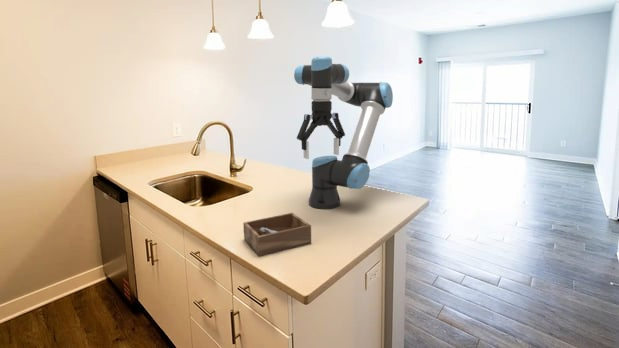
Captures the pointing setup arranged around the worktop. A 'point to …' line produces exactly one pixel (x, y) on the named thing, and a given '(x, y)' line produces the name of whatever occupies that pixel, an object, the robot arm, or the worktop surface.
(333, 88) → the robot arm
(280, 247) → the walnut well
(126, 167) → the worktop surface
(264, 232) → the mineral specimen
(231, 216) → the worktop surface
